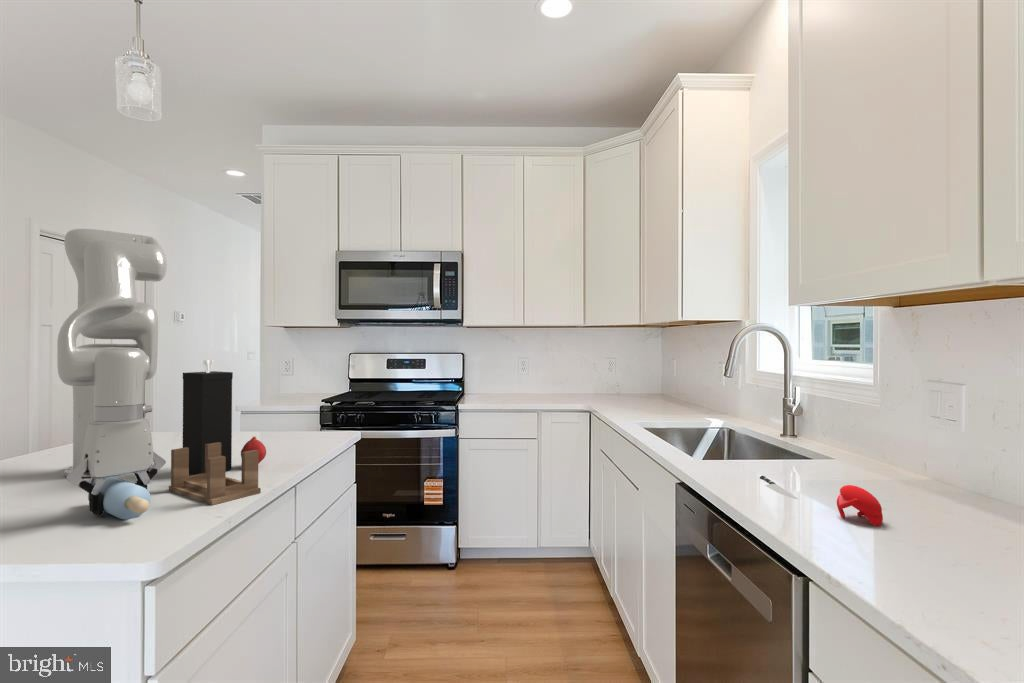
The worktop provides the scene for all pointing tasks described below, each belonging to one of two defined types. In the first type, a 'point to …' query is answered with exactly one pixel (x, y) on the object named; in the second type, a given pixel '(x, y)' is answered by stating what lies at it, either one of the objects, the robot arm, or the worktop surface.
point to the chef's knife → (777, 488)
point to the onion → (255, 448)
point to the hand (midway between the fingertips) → (119, 508)
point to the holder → (213, 476)
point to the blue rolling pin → (124, 498)
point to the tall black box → (207, 414)
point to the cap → (860, 503)
